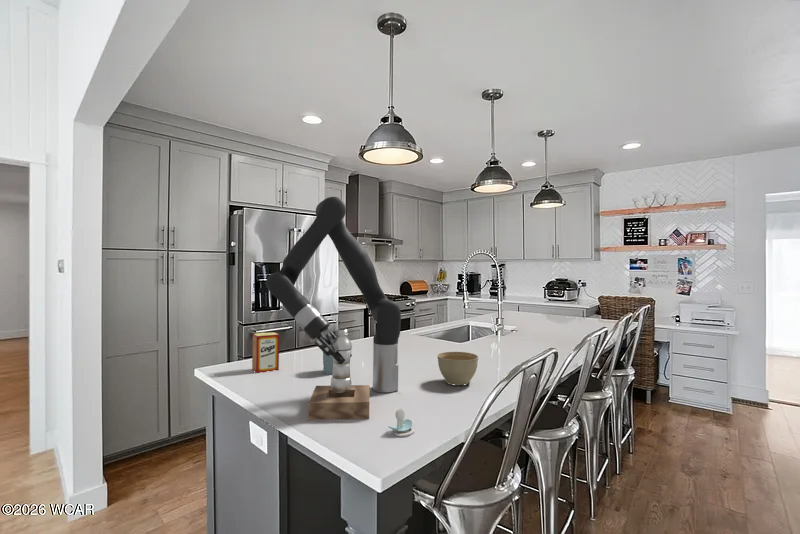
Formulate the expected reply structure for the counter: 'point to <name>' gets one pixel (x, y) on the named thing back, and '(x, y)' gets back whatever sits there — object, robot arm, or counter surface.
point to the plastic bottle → (342, 372)
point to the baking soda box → (265, 352)
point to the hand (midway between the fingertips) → (346, 360)
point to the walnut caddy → (339, 403)
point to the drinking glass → (327, 364)
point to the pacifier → (400, 421)
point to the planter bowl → (457, 366)
